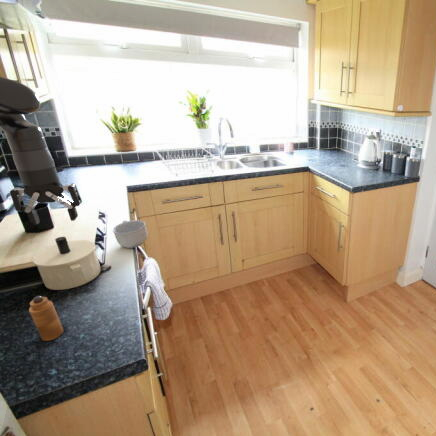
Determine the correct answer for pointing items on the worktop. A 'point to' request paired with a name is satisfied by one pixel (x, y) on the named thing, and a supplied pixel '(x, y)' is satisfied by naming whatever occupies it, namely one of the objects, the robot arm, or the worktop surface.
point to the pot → (71, 273)
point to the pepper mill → (45, 318)
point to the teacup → (131, 233)
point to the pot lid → (64, 253)
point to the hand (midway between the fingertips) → (55, 221)
